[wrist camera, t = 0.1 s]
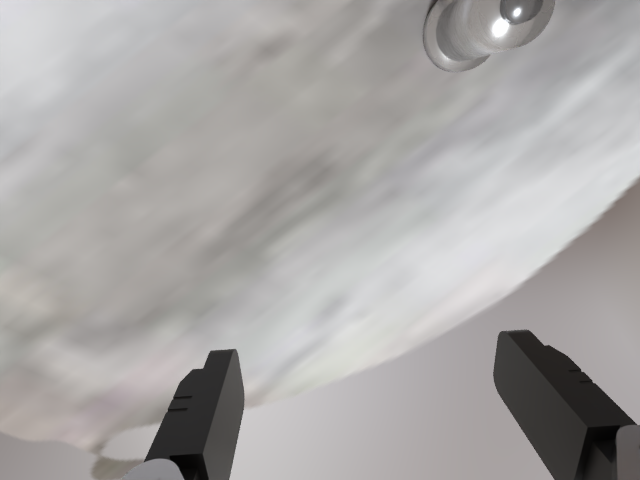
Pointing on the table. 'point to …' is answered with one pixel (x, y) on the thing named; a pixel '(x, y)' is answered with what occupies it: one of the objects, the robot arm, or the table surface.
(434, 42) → the cover
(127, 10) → the table surface
